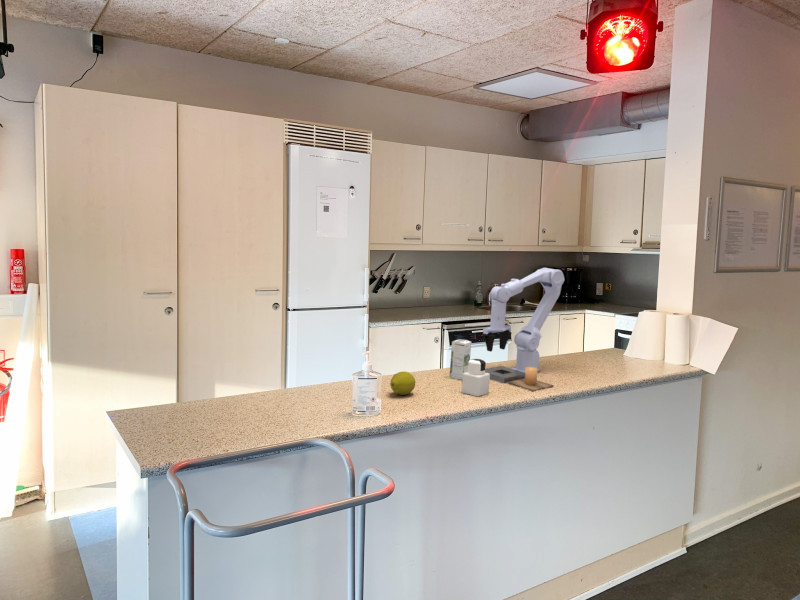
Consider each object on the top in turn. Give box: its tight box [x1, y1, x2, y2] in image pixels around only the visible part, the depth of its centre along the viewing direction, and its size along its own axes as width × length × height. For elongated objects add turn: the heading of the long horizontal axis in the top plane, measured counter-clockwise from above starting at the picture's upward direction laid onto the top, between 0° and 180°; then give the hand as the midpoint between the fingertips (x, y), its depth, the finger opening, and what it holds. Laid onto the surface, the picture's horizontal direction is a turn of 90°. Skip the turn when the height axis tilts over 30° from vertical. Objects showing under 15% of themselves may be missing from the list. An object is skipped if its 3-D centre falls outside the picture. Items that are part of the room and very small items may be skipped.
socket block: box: [484, 365, 525, 384], centre depth 240 cm, size 14×14×2 cm
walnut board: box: [507, 379, 555, 392], centre depth 230 cm, size 12×12×1 cm
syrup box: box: [449, 339, 472, 381], centre depth 236 cm, size 6×6×14 cm
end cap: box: [525, 367, 538, 385], centre depth 229 cm, size 4×4×6 cm
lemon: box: [389, 371, 416, 396], centre depth 210 cm, size 11×8×8 cm
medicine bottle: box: [461, 358, 491, 397], centre depth 216 cm, size 7×7×12 cm
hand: (495, 350), depth 245 cm, fingers open, 7 cm apart
